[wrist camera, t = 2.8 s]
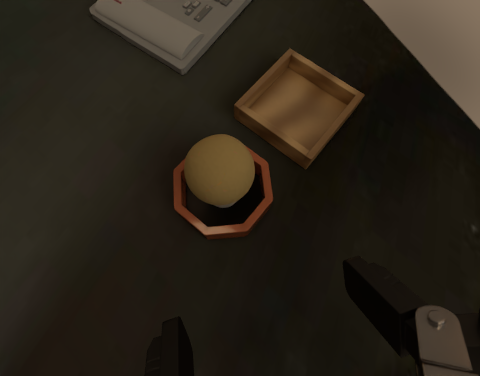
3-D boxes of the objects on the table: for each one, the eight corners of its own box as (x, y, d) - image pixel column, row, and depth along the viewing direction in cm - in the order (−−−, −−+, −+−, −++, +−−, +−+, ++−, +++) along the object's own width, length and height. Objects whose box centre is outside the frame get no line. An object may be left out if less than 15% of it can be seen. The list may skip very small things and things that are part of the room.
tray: (234, 118, 36) (233, 104, 33) (286, 64, 38) (289, 47, 36) (305, 169, 33) (311, 160, 31) (355, 108, 36) (364, 94, 33)
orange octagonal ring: (160, 199, 32) (152, 190, 29) (219, 138, 35) (217, 124, 32) (228, 257, 30) (227, 254, 27) (285, 188, 32) (290, 178, 30)
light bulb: (185, 185, 33) (164, 145, 23) (232, 158, 34) (230, 109, 24) (214, 231, 31) (203, 208, 21) (262, 201, 32) (272, 166, 22)
